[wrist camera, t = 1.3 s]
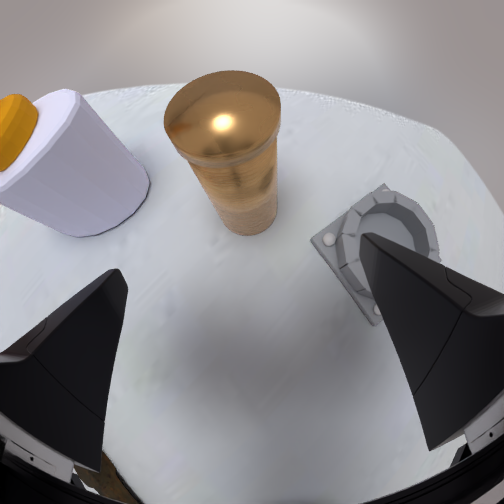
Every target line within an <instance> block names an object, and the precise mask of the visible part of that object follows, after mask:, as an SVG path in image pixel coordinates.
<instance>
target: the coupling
mask: <svg viewBox="0 0 504 504" xmlns="http://www.w3.org/2000/svg"><path fill="white" fill-rule="evenodd" d="M280 122H281V103H280V97H279V94H278V92H277V91H276V89H275V88H274V87H273V86H272V84H270V83H269V82H268V81H267V80H265V79H264V78H262V77H260V76H258V75H255V74H253V73H249V72H244V71H220V72H215V73H211V74H207V75H205V76H202V77H199V78H197V79H195V80H193V81H192V82H190V83H188V84H187V85H185V86H184V87H183V88H182V89H180V90H179V91H178V92H177V93H176V94H175V95H174V97H173V98H172V99H171V101H170V102H169V104H168V106H167V108H166V111H165V115H164V128H165V131H166V133H167V135H168V137H169V138H170V140H171V142H172V143H173V145H174V147H175V148H176V150H177V152H178V153H179V154H180V155H181V156H182V157H183V158H185V159H186V160H187V161H188V163H189V164H190V166H191V168H192V169H193V171H194V173H195V175H196V176H197V178H198V180H199V182H200V183H201V185H202V187H203V188H204V190H205V192H206V194H207V195H208V197H209V199H210V201H211V202H212V204H213V206H214V207H215V209H216V211H217V213H218V214H219V216H220V218H221V219H222V221H223V223H224V224H225V226H226V227H227V228H228V229H229V230H231V231H232V232H234V233H236V234H239V235H245V236H249V235H255V234H259V233H261V232H263V231H264V230H266V229H267V228H268V227H269V226H270V225H271V224H272V222H273V221H274V219H275V216H276V213H277V135H278V132H279V129H280Z"/></svg>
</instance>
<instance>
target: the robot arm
mask: <svg viewBox="0 0 504 504" xmlns="http://www.w3.org/2000/svg"><path fill="white" fill-rule="evenodd" d="M359 257H360V261H361V264H362V267H363V269H364V272H365V275H366V278H367V281H368V284H369V287H370V290H371V293H372V295H373V297H374V300H375V302H376V304H377V306H378V309H379V311H380V313H381V315H382V318H383V320H384V322H385V325H386V327H387V329H388V332H389V334H390V336H391V339H392V341H393V344H394V346H395V349H396V351H397V354H398V357H399V359H400V362H401V364H402V367H403V370H404V373H405V375H406V378H407V381H408V384H409V387H410V389H411V392H412V395H413V399H414V402H415V405H416V408H417V411H418V415H419V418H420V421H421V425H422V428H423V432H424V435H425V439H426V443H427V446H428V449H429V451H432V450H434V449H436V448H438V447H440V446H442V445H444V444H446V443H448V442H450V441H452V440H454V439H455V438H457V437H459V436H461V435H463V434H465V437H466V440H467V443H466V444H464V445H463V446H461V447H460V448H458V450H457V452H456V454H455V457H454V459H453V461H452V463H451V465H450V467H449V468H448V469H446V470H444V471H442V472H440V473H438V474H436V475H434V476H432V477H430V478H428V479H426V480H424V481H421V482H419V483H417V484H415V485H412V486H410V487H407V488H405V489H402V490H400V491H397V492H394V493H392V494H389V495H386V496H383V497H380V498H377V499H374V500H370V501H367V502H364V503H360V504H504V294H502V293H500V292H498V291H496V290H494V289H492V288H490V287H487V286H485V285H483V284H481V283H479V282H476V281H474V280H472V279H470V278H468V277H466V276H464V275H462V274H460V273H458V272H456V271H454V270H452V269H450V268H448V267H445V266H444V265H442V264H440V263H438V262H436V261H434V260H432V259H430V258H428V257H426V256H424V255H421V254H419V253H417V252H415V251H413V250H411V249H409V248H407V247H404V246H402V245H400V244H398V243H396V242H394V241H391V240H389V239H387V238H385V237H382V236H380V235H378V234H376V233H373V232H367V233H362V234H361V237H360V249H359ZM127 294H128V286H127V283H126V281H125V279H124V277H123V275H122V273H121V271H120V270H119V269H110V270H108V271H106V272H105V273H104V274H102V275H101V276H100V277H98V278H97V279H95V280H94V281H93V282H91V283H90V284H89V285H87V286H86V287H85V288H83V289H82V290H81V291H79V292H78V293H77V294H75V295H74V296H73V297H71V298H70V299H69V300H68V301H66V302H65V303H64V304H62V305H61V306H60V307H59V308H57V309H56V310H55V311H54V312H52V313H51V314H50V315H49V316H48V317H46V318H45V319H44V320H43V321H41V322H40V323H39V324H38V325H36V326H35V327H34V328H33V329H31V330H30V331H29V332H28V333H26V334H25V335H24V336H22V337H21V338H20V339H19V340H17V341H16V342H15V343H13V344H12V345H11V346H10V347H8V348H7V349H6V350H4V351H3V352H1V353H0V504H127V503H123V502H120V501H116V500H113V499H110V498H107V497H104V496H101V495H98V494H95V493H93V492H90V491H87V490H86V489H85V487H84V485H83V483H82V482H81V480H80V478H79V476H78V475H77V474H74V473H73V468H74V464H75V465H78V466H81V467H83V468H86V469H89V470H92V471H95V472H98V473H100V471H101V458H102V445H103V434H104V425H105V422H104V421H105V416H106V408H107V401H108V395H109V389H110V383H111V377H112V372H113V367H114V362H115V357H116V352H117V347H118V343H119V338H120V334H121V330H122V325H123V320H124V313H125V307H126V300H127Z"/></svg>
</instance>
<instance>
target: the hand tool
mask: <svg viewBox="0 0 504 504" xmlns="http://www.w3.org/2000/svg"><path fill="white" fill-rule="evenodd" d="M74 469H75V471H76V472H77V474H78V476H79V478H80V479H81V480H82V481H83V482H84V483H85V484H86V485H87V486H88V487H91V488H94V489H95V490H96V491H97V492H98V493H99V494H100V495H101V496H104V497H107V498H110V499H113V500H116V501H120V502H123V503H127V504H139V503H138V502H137V501H136V500H135V499H134V498H133V496H132V495H131V494H130V493H129V491H128V490H127V489H126V488H125V487H124V485H123V484H122V483H121V481H120V480H119V479H118V477H117V475H116V468H115V466H114V465H113V464H112V462H111V461H110V460H109V458H108V457H107V456H106V455H105V453H104V452H103V451H102V458H101V471H100V473H98V472H95V471H92V470H89V469H86V468H83V467H81V466H78V465H75V464H74Z"/></svg>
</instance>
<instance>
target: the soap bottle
mask: <svg viewBox="0 0 504 504" xmlns="http://www.w3.org/2000/svg"><path fill="white" fill-rule="evenodd" d="M149 184H150V182H149V179H148V176H147V173H146V171H145V169H144V168H143V167H142V165H141V164H140V163H139V162H138V161H137V160H136V159H135V157H134V156H133V155H132V154H131V153H130V152H129V151H128V149H127V148H126V147H125V146H124V145H123V144H122V143H121V141H120V140H119V139H118V138H117V137H116V136H115V134H114V133H113V132H112V131H111V130H110V129H109V127H108V126H107V125H106V124H105V123H104V122H103V120H102V119H101V118H100V117H99V116H98V114H97V113H96V112H95V111H94V110H93V109H92V107H91V106H90V105H89V104H88V103H87V101H86V100H85V99H84V98H83V97H82V95H81V94H80V93H78V92H75V91H72V90H68V89H61V90H58V91H55V92H52V93H49V94H47V95H45V96H43V97H42V98H40V99H38V100H37V101H35V102H34V103H31V102H30V101H29V100H28V99H27V98H26V97H24V96H22V95H20V94H12V95H9V96H7V97H5V98H3V99H1V100H0V204H2V205H4V206H6V207H8V208H10V209H12V210H14V211H16V212H18V213H20V214H22V215H24V216H26V217H29V218H31V219H33V220H35V221H37V222H39V223H42V224H44V225H46V226H48V227H51V228H53V229H55V230H57V231H60V232H62V233H64V234H68V235H71V236H75V237H83V236H90V235H97V234H99V233H101V232H104V231H106V230H108V229H111V228H113V227H115V226H117V225H118V224H120V223H121V222H122V221H124V220H125V219H126V218H128V217H129V216H130V215H132V214H133V213H134V212H135V211H136V209H137V208H138V207H139V205H140V204H141V203H142V202H143V200H144V199H145V198H146V194H147V191H148V187H149Z"/></svg>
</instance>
